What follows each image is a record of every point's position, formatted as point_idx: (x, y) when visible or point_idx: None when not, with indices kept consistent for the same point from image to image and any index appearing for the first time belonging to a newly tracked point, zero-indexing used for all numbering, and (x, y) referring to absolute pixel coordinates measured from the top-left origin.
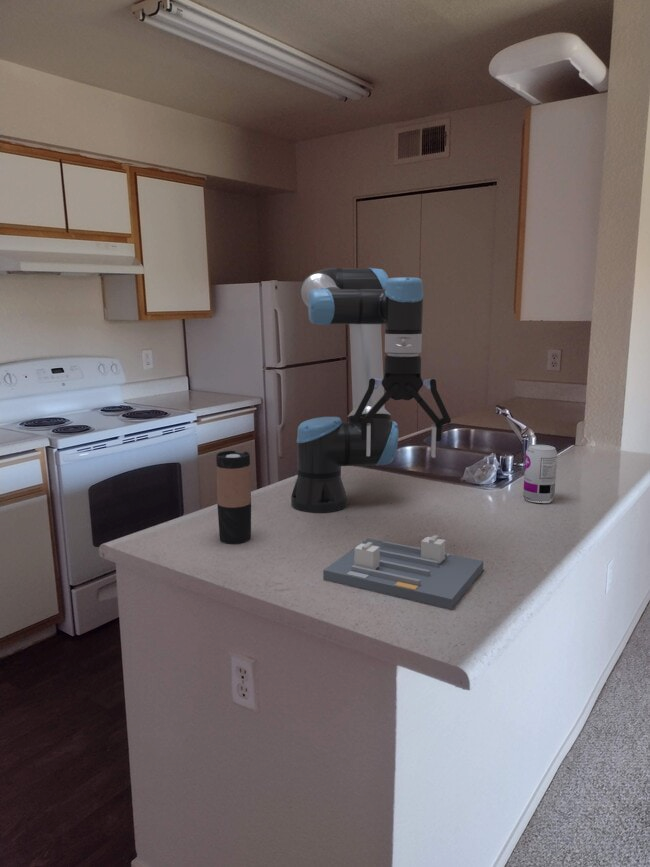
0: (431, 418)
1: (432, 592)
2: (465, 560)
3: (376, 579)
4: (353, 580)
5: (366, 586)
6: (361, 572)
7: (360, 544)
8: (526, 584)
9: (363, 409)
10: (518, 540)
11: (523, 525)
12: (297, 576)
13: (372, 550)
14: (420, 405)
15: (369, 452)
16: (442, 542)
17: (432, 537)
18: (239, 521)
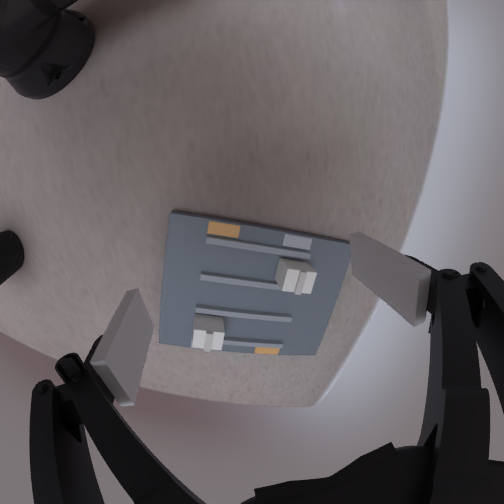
0: (431, 346)
1: (296, 350)
2: (332, 252)
3: (229, 346)
4: None
5: None
6: None
7: (194, 334)
8: None
9: (90, 465)
10: (387, 119)
11: (387, 60)
12: None
13: (218, 346)
14: (424, 416)
15: (150, 333)
16: (313, 284)
17: (299, 283)
18: (6, 277)
